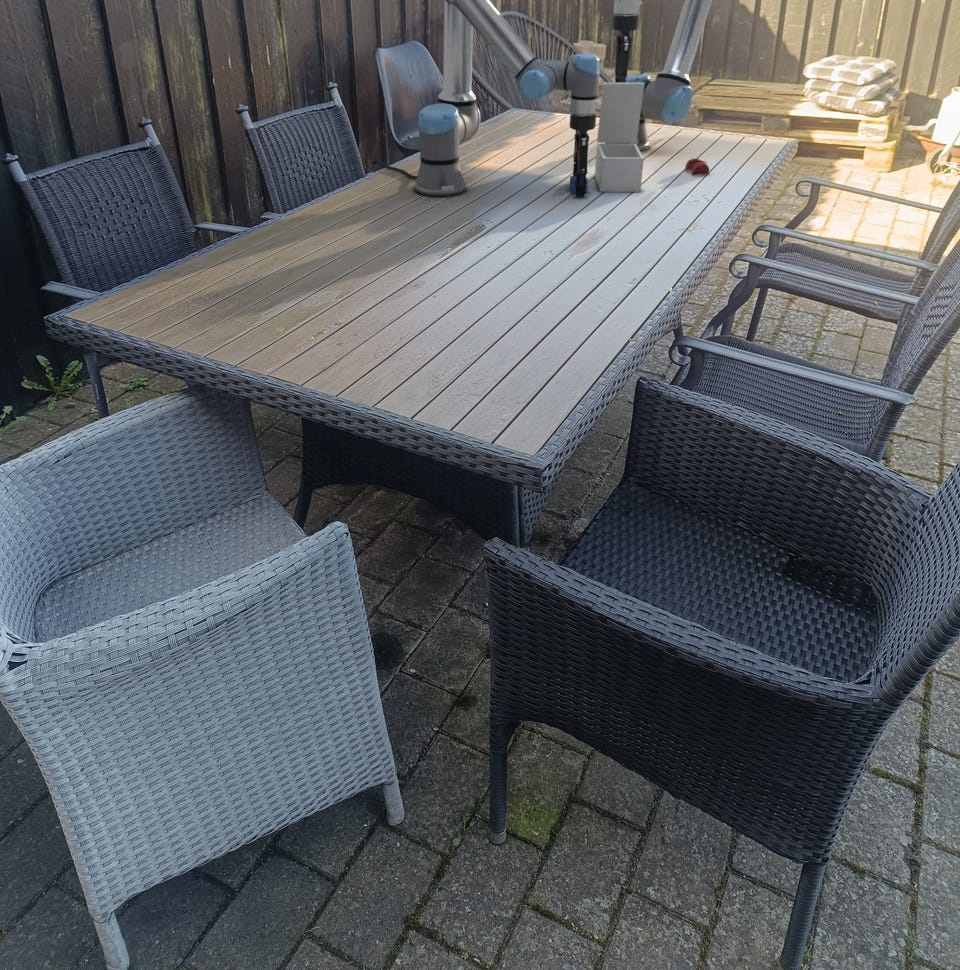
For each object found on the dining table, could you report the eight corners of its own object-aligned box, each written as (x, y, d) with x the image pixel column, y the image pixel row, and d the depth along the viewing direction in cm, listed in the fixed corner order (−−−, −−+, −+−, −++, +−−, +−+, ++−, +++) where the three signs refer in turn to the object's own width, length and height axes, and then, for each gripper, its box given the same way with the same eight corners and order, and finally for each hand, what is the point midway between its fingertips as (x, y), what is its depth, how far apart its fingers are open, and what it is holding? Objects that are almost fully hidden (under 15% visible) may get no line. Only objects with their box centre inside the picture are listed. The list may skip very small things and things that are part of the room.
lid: (644, 83, 251) (641, 71, 257) (603, 83, 251) (601, 71, 257) (636, 142, 264) (633, 130, 270) (597, 142, 264) (595, 129, 270)
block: (586, 193, 256) (587, 178, 253) (574, 194, 255) (574, 180, 253) (581, 189, 259) (582, 175, 257) (569, 190, 258) (570, 176, 256)
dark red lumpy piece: (700, 154, 275) (711, 161, 268) (699, 168, 277) (710, 175, 271) (684, 156, 274) (695, 163, 267) (683, 169, 276) (694, 176, 270)
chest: (640, 191, 257) (643, 158, 251) (600, 191, 257) (602, 158, 251) (632, 175, 271) (635, 143, 265) (594, 175, 271) (597, 143, 265)
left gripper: (600, 123, 235) (594, 202, 247) (592, 105, 253) (587, 179, 266) (573, 123, 235) (569, 202, 247) (567, 105, 254) (563, 179, 266)
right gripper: (642, 17, 242) (633, 106, 256) (635, 11, 254) (627, 96, 267) (616, 18, 242) (609, 106, 256) (610, 11, 254) (603, 96, 267)
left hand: (578, 190), depth 257 cm, fingers open, 11 cm apart
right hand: (618, 100), depth 261 cm, fingers closed on lid, 1 cm apart
